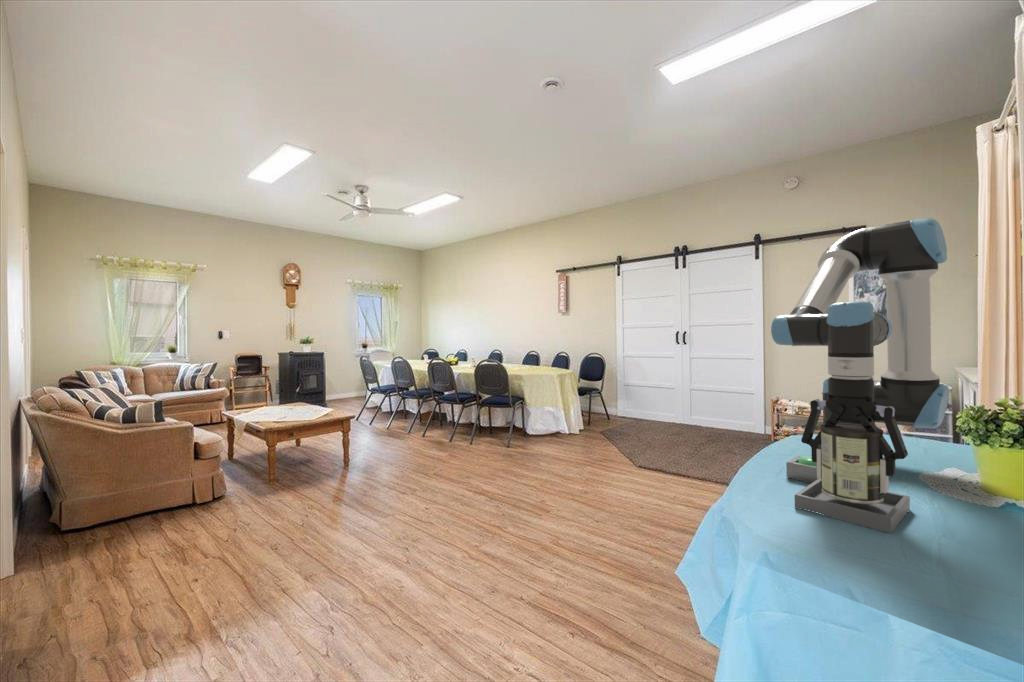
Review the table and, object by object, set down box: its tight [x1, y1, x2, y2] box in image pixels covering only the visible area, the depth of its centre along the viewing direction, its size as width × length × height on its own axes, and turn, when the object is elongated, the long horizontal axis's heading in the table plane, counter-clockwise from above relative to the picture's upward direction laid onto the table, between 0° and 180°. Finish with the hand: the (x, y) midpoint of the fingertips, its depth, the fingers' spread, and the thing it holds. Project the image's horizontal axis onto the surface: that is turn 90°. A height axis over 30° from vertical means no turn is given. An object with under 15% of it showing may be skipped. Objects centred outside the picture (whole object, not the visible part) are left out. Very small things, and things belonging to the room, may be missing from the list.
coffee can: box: [819, 423, 884, 504], centre depth 91 cm, size 10×10×14 cm
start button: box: [799, 455, 817, 466], centre depth 110 cm, size 5×5×4 cm
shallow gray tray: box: [794, 479, 911, 534], centre depth 91 cm, size 16×16×3 cm
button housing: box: [785, 455, 817, 484], centre depth 110 cm, size 8×8×4 cm
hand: (851, 484), depth 91 cm, fingers closed on coffee can, 10 cm apart
